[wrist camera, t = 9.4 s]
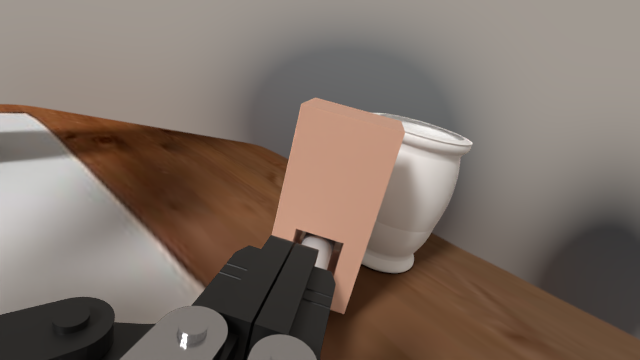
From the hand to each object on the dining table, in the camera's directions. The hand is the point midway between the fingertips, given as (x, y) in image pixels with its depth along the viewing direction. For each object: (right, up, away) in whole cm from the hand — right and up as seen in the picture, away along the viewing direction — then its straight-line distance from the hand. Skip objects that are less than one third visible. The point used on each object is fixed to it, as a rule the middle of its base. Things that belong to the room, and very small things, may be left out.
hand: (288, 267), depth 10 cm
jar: (+7, -6, +29) cm, 31 cm away
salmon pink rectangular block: (0, -6, +19) cm, 20 cm away
